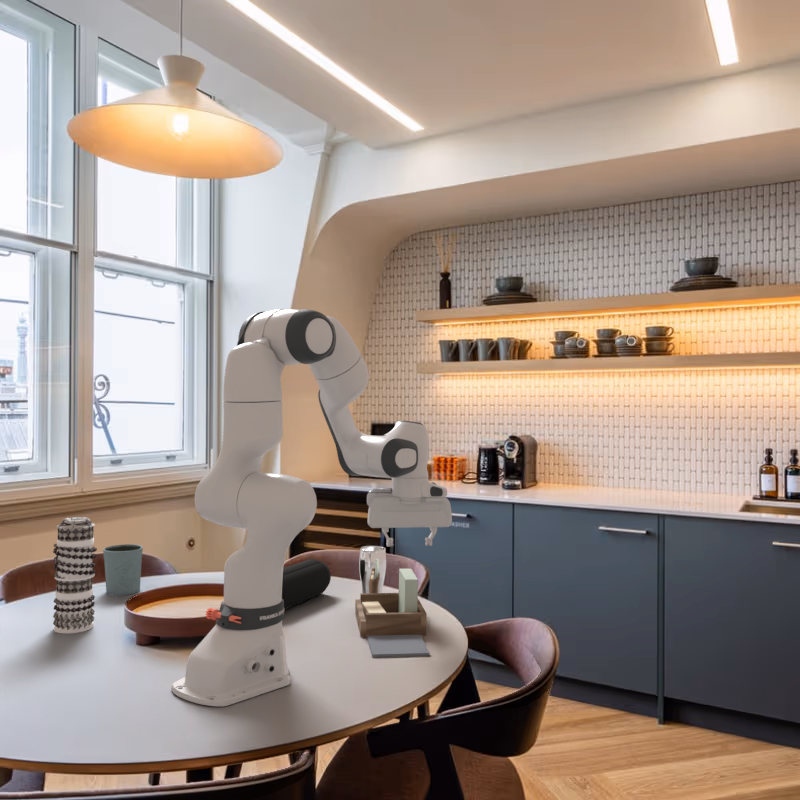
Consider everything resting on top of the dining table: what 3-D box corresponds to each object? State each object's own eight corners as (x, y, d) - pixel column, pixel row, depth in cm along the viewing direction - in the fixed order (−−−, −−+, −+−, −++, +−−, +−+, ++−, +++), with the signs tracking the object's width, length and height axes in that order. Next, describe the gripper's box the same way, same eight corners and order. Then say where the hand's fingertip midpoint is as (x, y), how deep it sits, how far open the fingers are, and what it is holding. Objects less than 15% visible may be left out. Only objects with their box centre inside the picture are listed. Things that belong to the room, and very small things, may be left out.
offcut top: (387, 623, 166) (387, 614, 166) (370, 624, 165) (370, 615, 165) (377, 610, 177) (377, 601, 177) (361, 611, 176) (361, 602, 176)
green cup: (139, 595, 192) (139, 550, 192) (98, 597, 190) (99, 551, 190) (144, 586, 202) (145, 543, 202) (106, 587, 200) (106, 544, 200)
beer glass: (384, 610, 183) (385, 551, 183) (357, 609, 183) (358, 550, 183) (385, 602, 190) (386, 545, 190) (359, 601, 190) (360, 545, 190)
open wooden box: (426, 635, 163) (426, 613, 163) (360, 636, 161) (360, 614, 161) (414, 612, 181) (414, 592, 181) (355, 613, 179) (355, 593, 179)
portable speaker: (303, 591, 200) (304, 555, 200) (333, 595, 196) (334, 559, 196) (244, 614, 178) (245, 574, 178) (277, 620, 173) (278, 579, 173)
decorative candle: (42, 632, 161) (44, 520, 161) (70, 620, 170) (72, 514, 170) (77, 635, 159) (79, 523, 159) (103, 623, 168) (106, 516, 168)
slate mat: (429, 655, 150) (429, 652, 150) (372, 657, 149) (372, 654, 149) (420, 637, 162) (420, 634, 162) (367, 638, 161) (367, 635, 161)
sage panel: (416, 631, 167) (417, 579, 167) (404, 631, 166) (405, 579, 166) (410, 616, 178) (411, 568, 178) (398, 617, 177) (399, 568, 177)
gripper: (367, 490, 168) (367, 549, 168) (453, 489, 170) (453, 547, 170) (365, 486, 174) (365, 543, 174) (448, 486, 176) (447, 542, 177)
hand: (409, 545), depth 172 cm, fingers open, 8 cm apart
